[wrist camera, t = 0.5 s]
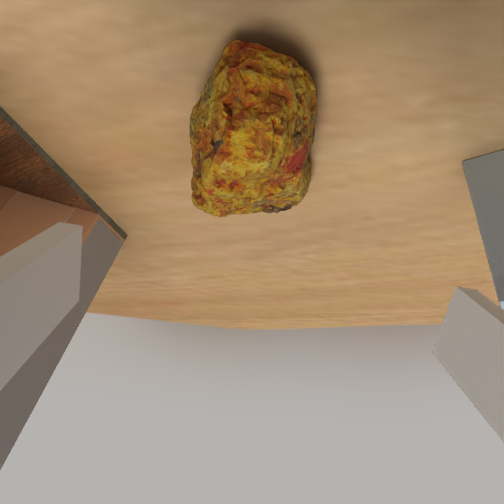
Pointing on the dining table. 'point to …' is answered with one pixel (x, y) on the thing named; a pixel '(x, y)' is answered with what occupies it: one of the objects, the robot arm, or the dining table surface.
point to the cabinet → (28, 226)
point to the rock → (252, 133)
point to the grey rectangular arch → (489, 210)
